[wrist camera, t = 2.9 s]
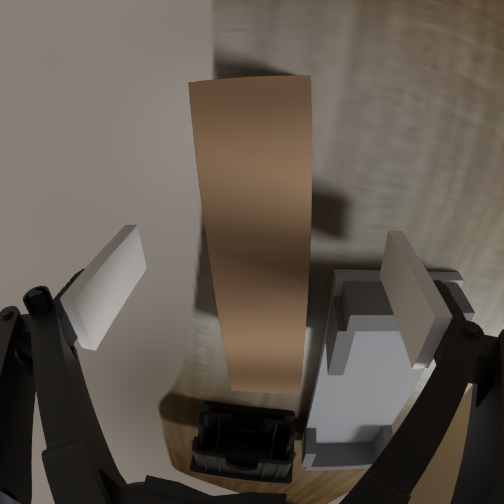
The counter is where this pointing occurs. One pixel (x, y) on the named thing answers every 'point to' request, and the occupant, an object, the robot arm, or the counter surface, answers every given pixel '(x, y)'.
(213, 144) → the wooden block
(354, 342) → the holder
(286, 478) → the end cap
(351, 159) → the counter surface
